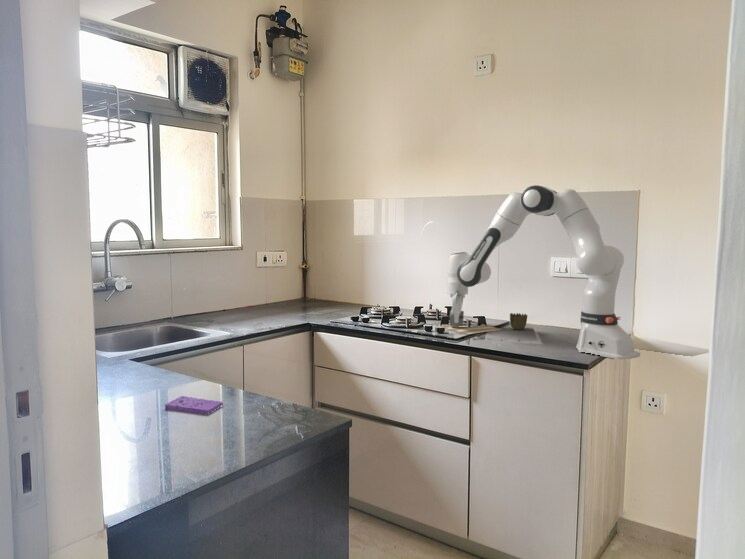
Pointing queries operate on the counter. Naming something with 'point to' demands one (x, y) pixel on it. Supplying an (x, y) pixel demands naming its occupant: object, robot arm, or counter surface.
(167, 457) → the counter surface
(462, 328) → the board
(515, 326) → the cup
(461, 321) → the grey cube
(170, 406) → the sponges
